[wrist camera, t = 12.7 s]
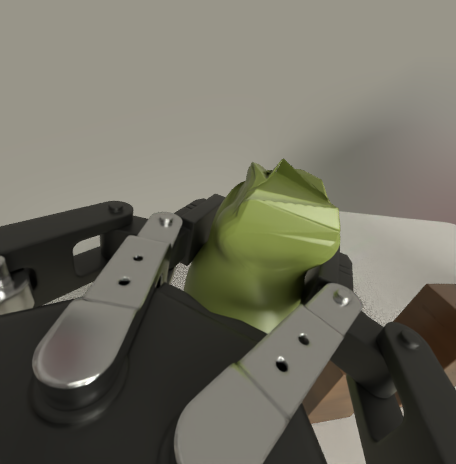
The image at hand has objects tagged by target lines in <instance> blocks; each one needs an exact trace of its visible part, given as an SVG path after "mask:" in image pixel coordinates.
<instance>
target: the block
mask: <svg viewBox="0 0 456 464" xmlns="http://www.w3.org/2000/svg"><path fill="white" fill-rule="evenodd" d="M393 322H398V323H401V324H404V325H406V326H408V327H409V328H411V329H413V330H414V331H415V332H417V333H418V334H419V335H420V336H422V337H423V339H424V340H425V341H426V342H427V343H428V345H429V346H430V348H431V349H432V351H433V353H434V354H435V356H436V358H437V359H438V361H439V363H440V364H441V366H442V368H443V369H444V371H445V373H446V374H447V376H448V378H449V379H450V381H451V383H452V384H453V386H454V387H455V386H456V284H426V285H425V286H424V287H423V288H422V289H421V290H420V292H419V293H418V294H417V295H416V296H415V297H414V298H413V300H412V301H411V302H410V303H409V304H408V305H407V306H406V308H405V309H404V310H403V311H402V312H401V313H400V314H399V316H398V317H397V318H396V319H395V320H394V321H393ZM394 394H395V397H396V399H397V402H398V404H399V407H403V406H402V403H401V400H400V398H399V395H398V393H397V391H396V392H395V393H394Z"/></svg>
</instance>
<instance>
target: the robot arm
mask: <svg viewBox="0 0 456 464" xmlns="http://www.w3.org/2000/svg"><path fill="white" fill-rule="evenodd" d="M225 198H226V197H223V196H221V195H218V194H214V195H213V196H211V197H210V198H208V199H207V200H206V199H198V200H195V201H193V202H192V203H190V204H189V205H187V206H186V207H184V208H182V209H180V210H178V211H177V212H175V213H174V214H173V213H169V212H158V213H155V214H152V216H150V218H149V219H146V218H141V217H137V216H133V207H132V206H131V205H130V204H128V203H125V202H120V201H108V202H104V203H99V204H96V205H91V206H87V207H82V208H78V209H74V210H69V211H65V212H61V213H57V214H53V215H48V216H44V217H40V218H35V219H31V220H26V221H22V222H18V223H14V224H9V225H5V226H1V227H0V464H327V462H326V459H325V457H324V454H323V452H322V450H321V447H320V445H319V442H318V440H317V437H316V435H315V433H314V430H313V428H312V425H311V423H310V420H309V418H308V415H307V413H306V411H305V408H304V406H303V403H302V401H303V400H304V398H305V397H306V395H307V393H308V392H309V390H310V389H311V387H312V386H313V384H314V383H315V381H316V380H317V378H318V377H319V375H320V374H321V372H322V371H323V369H324V367H325V366H326V364H327V363H328V361H329V360H330V361H332V362H333V363H334V364H335V365H336V366H338V367H339V368H340V369H341V370H343V371H344V372H345V373H346V380H347V385H348V389H349V393H350V397H351V402H352V406H353V410H354V414H355V418H356V423H357V427H358V431H359V435H360V439H361V444H362V448H363V452H364V456H365V461H366V464H456V390H455V388H454V386H453V384H452V383H451V381H450V379H449V378H448V376H447V374H446V373H445V371H444V369H443V368H442V366H441V364H440V363H439V361H438V359H437V358H436V356H435V354H434V353H433V351H432V349H431V348H430V346H429V345H428V343H427V342H426V341H425V340H424V339H423V337H422V336H420V335H419V334H418V333H417V332H415V331H414V330H413V329H411V328H409V327H408V326H406V325H404V324H401V323H398V322H389V323H387V324H386V325H385V326H384V327H383V326H381V325H380V324H378V323H377V322H375V321H374V320H372V319H371V318H369V317H368V316H367V315H365V314H364V313H363V312H362V311H361V310H362V302H361V300H360V299H359V297H358V296H357V295H356V294H355V293H354V292H353V276H352V275H353V273H352V262H351V261H350V259H349V257H348V256H347V255H345V254H342V253H340V245H339V248H338V250H337V252H336V253H335V255H334V256H333V257H332V258H330V259H329V260H328V261H326V262H325V263H323V264H321V265H319V266H317V267H315V268H313V269H311V270H309V271H308V272H307V274H306V277H305V286H304V290H303V293H302V296H301V299H300V303H299V305H298V306H297V307H296V308H295V309H294V310H293V311H292V312H291V313H290V314H289V315H288V316H287V317H286V318H284V319H283V320H282V321H281V322H280V323H279V324H278V325H277V326H276V327H275V328H274V329H273V330H272V331H271V332H270V333H269V334H267V333H265V332H263V331H261V330H259V329H257V328H255V327H253V326H251V325H249V324H247V323H245V322H243V321H241V320H238V319H234V318H231V317H227V316H223V315H220V314H216V313H213V312H210V311H209V310H207V309H206V308H205V307H204V306H203V305H201V304H200V303H199V302H198V301H197V300H195V299H194V298H193V297H192V296H191V295H189V294H188V293H186V292H184V291H182V290H180V289H178V288H176V287H174V286H172V285H171V282H172V279H173V276H174V273H175V270H176V265H177V264H178V263H179V262H180V263H182V264H184V265H186V266H188V265H189V264H190V263H191V262H192V261H193V259H194V258H195V256H196V254H197V253H198V251H199V250H200V249H201V248H202V246H203V245H204V244H205V243H206V242H207V241H208V238H209V234H210V230H211V226H212V223H213V220H214V217H215V215H216V213H217V210H218V209H219V207H220V205H221V203H222V202H223V200H224V199H225ZM97 235H100V247H97V248H94V249H91V250H89V251H86V252H83V253H80V254H78V255H75V256H73V248H74V246H75V245H76V244H77V243H78V242H80V241H82V240H85V239H88V238H91V237H94V236H97ZM93 281H94V282H93ZM91 282H93V284H92V285H91V286H90V288H89V289H88V290H87V292H86V293H85V294H84V295H83V296H82V297H80V298H76V299H71V300H66V301H62V302H57V303H53V304H48V305H44V304H46V303H48V302H50V301H52V300H54V299H57V298H59V297H61V296H63V295H65V294H67V293H69V292H72V291H74V290H76V289H78V288H80V287H82V286H84V285H87V284H89V283H91ZM42 305H43V306H42ZM396 391H397V393H398V395H399V398H400V400H401V403H402V406H403V410H404V417H403V415H402V412H401V410H400V407H399V404H398V402H397V399H396V397H395V394H394V393H395V392H396Z"/></svg>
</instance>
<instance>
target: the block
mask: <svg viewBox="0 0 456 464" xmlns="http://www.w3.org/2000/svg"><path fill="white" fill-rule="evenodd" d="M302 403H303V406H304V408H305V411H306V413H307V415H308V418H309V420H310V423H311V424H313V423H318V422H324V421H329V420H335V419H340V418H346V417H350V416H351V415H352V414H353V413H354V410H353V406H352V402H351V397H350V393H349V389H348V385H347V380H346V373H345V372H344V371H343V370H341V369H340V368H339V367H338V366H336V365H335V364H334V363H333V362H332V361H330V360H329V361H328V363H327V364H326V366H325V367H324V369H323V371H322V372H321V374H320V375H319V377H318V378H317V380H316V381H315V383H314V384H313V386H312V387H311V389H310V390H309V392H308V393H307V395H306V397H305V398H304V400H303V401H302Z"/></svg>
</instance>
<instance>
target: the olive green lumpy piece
mask: <svg viewBox="0 0 456 464" xmlns="http://www.w3.org/2000/svg"><path fill="white" fill-rule="evenodd" d="M281 161H282V162H281ZM281 161H280V162H279V164H280V166H279V164H278V165H277V166H276V167H275V168H274V170H265V169H264V168H263V167H262V166H260V165H259V164H256V163H253V162H252V163H251V166H250V167H249V169H248V172H247V177H246V181H244V182H241V183H240V184H238V185H237V186H235V187H234V188H233V189H232V190H231V192H230V193H229V194H228V195H227V197H226V198H225V199H224V200H223V202H222V203H221V205H220V207H219V209H218V210H217V213H216V215H215V217H214V220H213V223H212V226H211V230H210V234H209V238H208V241H207V242H206V243H205V244H204V245H203V246H202V248H201V249H200V250H199V251H198V253H197V254H196V256H195V258H194V259H193V261H192V263H191V265H190V267H189V270H188V273H187V277H186V281H185V286H184V292H186V293H188V294H189V295H191V296H192V297H193V298H194V299H195V300H197V301H198V302H199V303H200V304H201V305H203V306H204V307H205V308H206V309H207V310H209V311H210V312H213V313H216V314H220V315H223V316H227V317H231V318H234V319H238V320H241V321H243V322H245V323H247V324H249V325H251V326H253V327H255V328H257V329H259V330H261V331H263V332H265V333H267V334H269V333H270V332H271V331H272V330H273V329H274V328H275V327H276V326H277V325H278V324H279V323H280V322H281V321H282V320H283V319H284V318H286V317H287V316H288V315H289V314H290V313H291V312H292V311H293V310H294V309H295V308H296V307H297V306H298V305H299V303H300V299H301V296H302V293H303V290H304V286H305V276H306V274H307V272H308V271H309V270H311V269H313V268H315V267H317V266H319V265H321V264H323V263H325V262H326V261H328V260H329V259H330V258H332V257H333V256H334V255H335V253H336V252H337V250H338V248H339V245H340V220H339V210H338V208H337V207H335V206H334V205H333V204H331V203H330V201H329V199H328V197H327V194H326V191H325V188H324V186H323V182H322V180H321V179H319V178H317V177H315V176H313V175H311V174H309V173H307V172H305V171H304V170H301V169H294V168H293V167H292V166H290V164H289V163H287V161H286V160H285V159H282V160H281ZM278 166H279V167H278ZM276 170H277V172H275V171H276Z"/></svg>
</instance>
